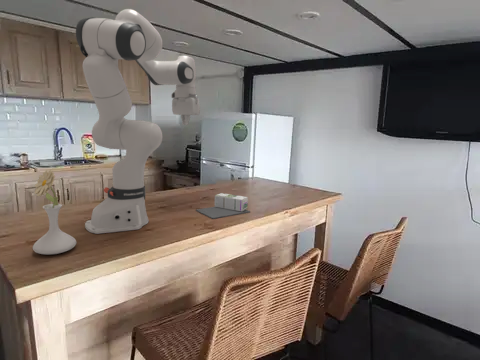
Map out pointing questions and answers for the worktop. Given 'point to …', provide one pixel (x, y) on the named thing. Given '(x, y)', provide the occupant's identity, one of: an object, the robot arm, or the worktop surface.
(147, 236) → the worktop surface
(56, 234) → the flower in vase
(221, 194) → the syrup box
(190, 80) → the robot arm
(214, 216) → the rubber mat
